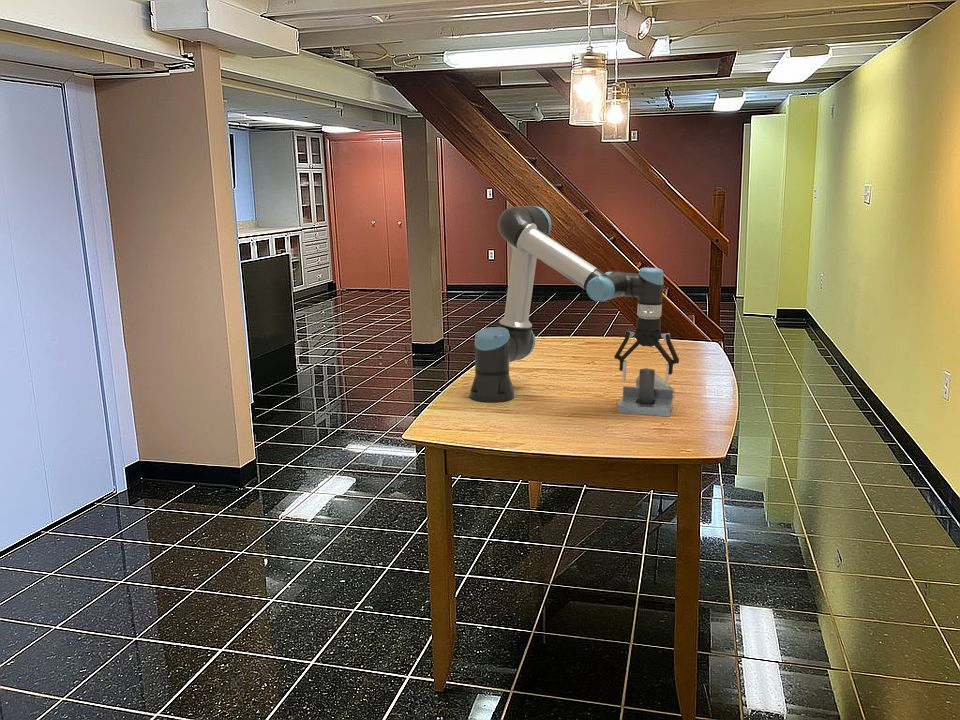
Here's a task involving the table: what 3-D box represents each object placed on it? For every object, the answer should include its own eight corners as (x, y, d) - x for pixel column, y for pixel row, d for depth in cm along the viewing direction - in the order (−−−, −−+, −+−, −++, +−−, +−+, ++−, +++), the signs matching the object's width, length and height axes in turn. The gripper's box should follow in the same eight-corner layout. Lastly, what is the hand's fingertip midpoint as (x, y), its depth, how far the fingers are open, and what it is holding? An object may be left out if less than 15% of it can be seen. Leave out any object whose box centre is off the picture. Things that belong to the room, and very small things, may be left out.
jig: (617, 412, 258) (618, 396, 257) (623, 402, 271) (623, 386, 270) (668, 416, 253) (669, 399, 252) (672, 405, 266) (673, 389, 265)
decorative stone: (627, 396, 279) (641, 376, 272) (633, 379, 287) (647, 359, 281) (660, 415, 278) (675, 396, 272) (665, 397, 287) (680, 378, 280)
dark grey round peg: (637, 410, 261) (638, 371, 258) (638, 406, 265) (640, 368, 262) (652, 411, 259) (654, 372, 257) (653, 407, 264) (655, 368, 261)
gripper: (607, 316, 256) (604, 381, 261) (688, 321, 249) (684, 388, 254) (611, 313, 263) (608, 376, 268) (690, 317, 256) (685, 383, 261)
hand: (645, 382), depth 261 cm, fingers open, 13 cm apart
